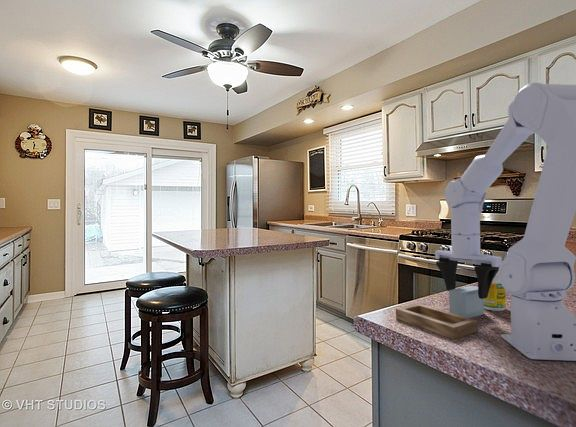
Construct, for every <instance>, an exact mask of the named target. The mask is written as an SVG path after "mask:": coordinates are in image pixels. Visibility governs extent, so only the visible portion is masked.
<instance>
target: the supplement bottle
mask: <svg viewBox="0 0 576 427" xmlns="http://www.w3.org/2000/svg"><path fill="white" fill-rule="evenodd" d="M506 294H507V291H506V290H505V289H504V287H503V286H502V284H501V282H500V280H499V274H498V272H497V274H496V275H495V277H494V279H493V281H492V283H491V286H490V289H489V293H488V297H487V298H484V310H488V311H493V312H495V311H496V312H501V311H505V310H506V309H507V295H506Z"/></svg>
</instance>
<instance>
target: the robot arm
mask: <svg viewBox="0 0 576 427" xmlns="http://www.w3.org/2000/svg"><path fill="white" fill-rule="evenodd" d="M507 112H508V119H507V120H506V123H504V125H503V127H502V128H501V130H500V131H499V133H498V135H496V137H495V139H494V141H493V142H492V144H491V145H490V146H489V148H488V150H487V151H486V153H485V154H480V155H477V156H475V157H474V158H473V160H472V162H471V163H470V164H469V165H468V167H467V168H466V170H465V171H464V172H463V174H462V175H461V176H460V178H456V179H455V180H450V181H449V182H448V183H447V186H446V187H445V191H444V198H445V202H446V203H447V205H448V206H449V207H450V221H451V223H450V224H451V227H450V229H451V230H450V232H451V235H450V236H451V250H443V249H442V250H441V249H439V250H435V251H434V257H435V259H436V262H435V265H436V266H437V268H438V269H439V271H440V273H441V276H442V279H443V281H444V284H445V287H446V291H448V292H449V290H453V289H456V286H457V285H456V283H457V282H456V281H457V280H456V279H457V278H456V276H457V269H458V264H459V262H462V263H469V264H476V265H475V266H474V267H473V268H474V271H475V275H476V279H477V280H476V281H477V287H478V296H479V298H480V299H484V298H487V297H488V293H489V289H490V286H491V283H492V281H493V279H494V277H495V275H496V274H497V272H498V274H499V280H500V282H501V284H502V286H503V287H504V289H505V290H506V294H508V295H510V333H511V334H509V333H508V334H507V333H506V334H505V333H503V334H501V335H500V337H501V338H502V339H503V340H504V341H506V342H507V343H508V344H509V345H511V346H512V347H514V348H515V349H516V350H517V351H519V352H520V353H521V354H523V356H525V357H526V358H528V359H530V360H542V361H543V360H547V361H548V360H549V361H567V362H569V361H571V362H576V315H575V314H574V313H573V312H572V311H571V310H570V309H569V308H568V307H566V305H565V304H564V299H563V298H567V291H570V290H571V289H572V288H573V286H574V285H575V282H576V273H575V262H576V256H575V254H574V253H573V252H572V251H570V250H569V249H568V248H567V247H566V243H567V240H568V237H569V234H570V230H571V227H572V223H573V220H574V218H575V214H576V84H561V83H559V84H558V83H556V84H555V83H542V82H529V83H528V84H525V85H524V86H523V87H521V88H520V89H519V90H518V92H517V93H516V95H515V97H514V99H513V100H512V101H511V102H510V103H509V105H508V110H507ZM533 134H535V135H537V136H539V137H540V138H541V140H543V141H544V143H545V144H546V145H547V150H546V153H545V156H544V157H545V158H544V160H543V165H542V167H541V172H540V176H539V179H538V184H537V187H536V191H535V195H534V197H533V202H532V205H531V210H530V213H529V216H528V221H527V224H526V228H525V232H524V235H523V238H521V239H520V240H519V241H518V242H516V243H514V244H513V245H511V246H510V247H509V248H508V250H507V253H506V256H505V258H504V259H503V258H502V256H496V255H490V254H484V253H481V217H480V216H481V215H480V214H482V213H483V206H484V203H485V201H486V198H487V192H486V191H487V190H488V189H489V188H490V187H491V186H492V184H493V183H494V182H495V181H496V180H497V179H498V178H499V177H500V175H502V173H503V172H504V166H503V163H504V162H505V161H506V160H507V159H508V158H509V157H510V156H511V155H512V154H513V153H514V152H515V151H516V150H517V149H518V148H519V147H520V146H521V145H522V144H523V143H524V142H525V141H526V140H527V139H528V138H529V137H530V136H531V135H533ZM502 259H503V260H502Z"/></svg>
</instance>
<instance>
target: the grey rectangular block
mask: <svg viewBox="0 0 576 427" xmlns="http://www.w3.org/2000/svg"><path fill="white" fill-rule="evenodd" d="M448 295H449V297H448V298H449V302H448V303H449V312H450V313H453V314H457V315H460V316H464V317H467V318H471V319H473V318H475V317H479V316H481V315H485V309H484V299H480V298H479V296H478V286H474V285H468V286H464V287H463V286H462V287H459V288H455V289H453V290H449V291H448Z"/></svg>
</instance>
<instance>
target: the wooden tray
mask: <svg viewBox="0 0 576 427" xmlns="http://www.w3.org/2000/svg"><path fill="white" fill-rule="evenodd" d="M395 319H397V320H398V321H402V322H405V323H408V324H411V325H413V326H415V327H419V328H421V329H424V330H427V331H429V332H432V333H435V334H438V335H440V336H444V337H446V338H449V339H452V340H456V339H459V338H462V337H466V336H469V335H472V334H475V333H478V331H479V326H478V324H479V320H477V319H474V318H467V317H464V316H460V315H457V314H453V313H450V311H447V310H443V309H439V308H436V307H432V306H429V305H425V304H422V303H416V304H415V303H414V304H411V305H405V306H402V307H398V308H395Z"/></svg>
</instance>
